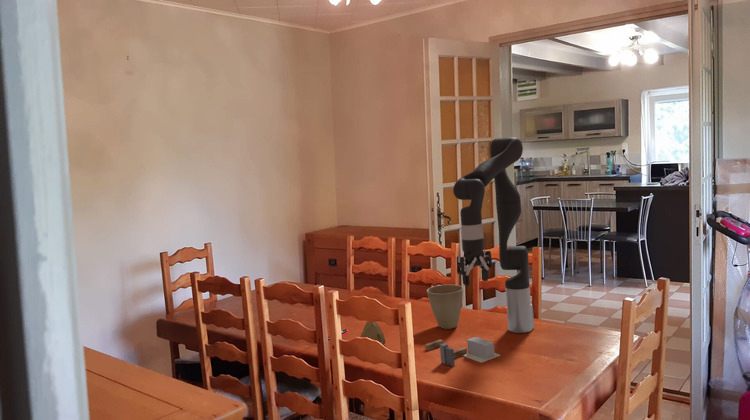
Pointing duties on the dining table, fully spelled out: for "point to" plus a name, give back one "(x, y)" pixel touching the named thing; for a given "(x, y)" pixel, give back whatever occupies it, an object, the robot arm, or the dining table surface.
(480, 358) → the mat
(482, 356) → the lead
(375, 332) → the rock
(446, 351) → the grey stepped block
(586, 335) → the dining table surface
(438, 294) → the plant pot
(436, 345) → the clamp rails
